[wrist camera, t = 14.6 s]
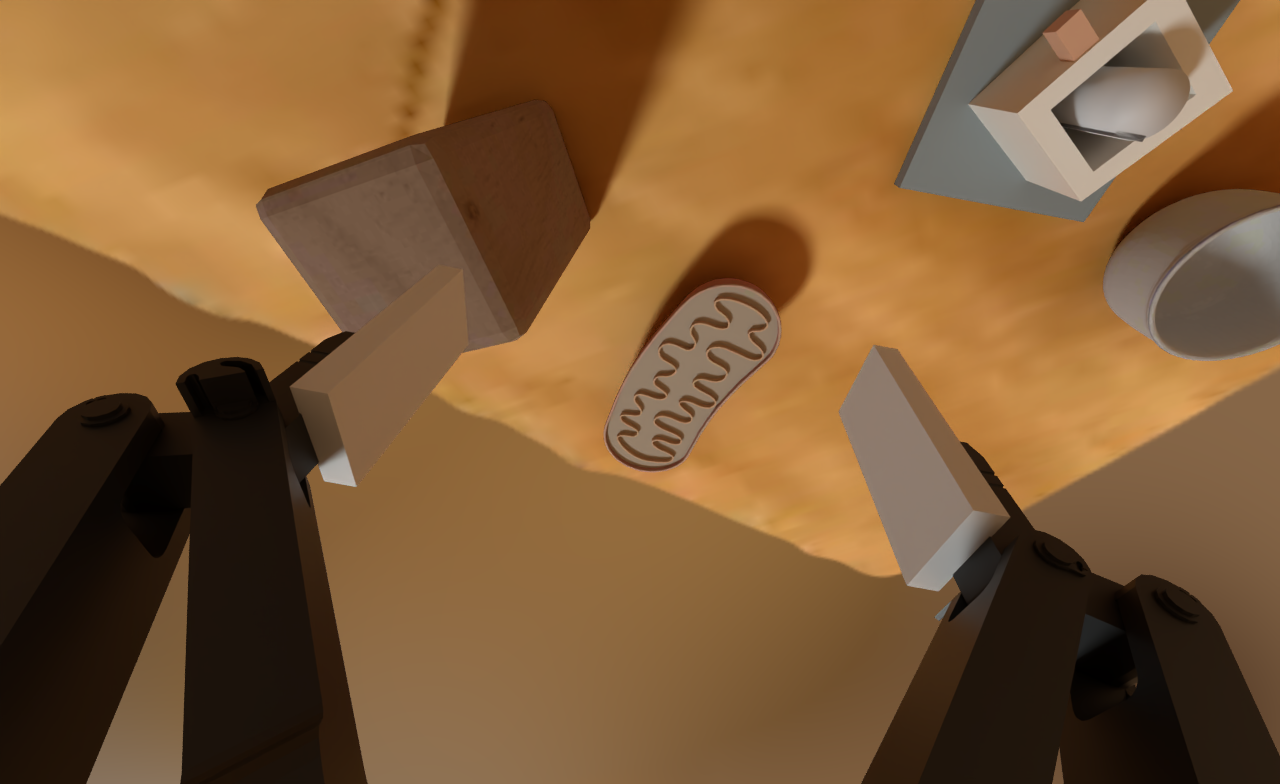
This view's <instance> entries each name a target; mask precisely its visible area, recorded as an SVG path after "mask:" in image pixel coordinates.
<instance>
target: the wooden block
mask: <svg viewBox="0 0 1280 784" xmlns="http://www.w3.org/2000/svg"><path fill="white" fill-rule="evenodd" d="M256 207H257V210H258V213H259V216H260V219H261V221H262V222H263V223H264V225H265V226H266V227H267V229H268V230H269V232H270V233H271V234H272V236H273V237H274V238H275V240H276V241H277V243H278V244H279V245H280V247H281V248H282V249H283V251H284V252H285V254H286V255H287V256H288V258H289V259H290V260H291V262H292V263H293V265H294V266H295V267H296V269H297V270H298V271H299V273H300V274H301V276H302V277H303V278H304V280H305V281H306V282H307V284H308V285H309V287H310V288H311V289H312V291H313V292H314V293H315V295H316V296H317V298H318V299H319V300H320V302H321V303H322V305H323V306H324V307H325V309H326V310H327V311H328V313H329V314H330V316H331V317H332V318H333V320H334V321H335V322H336V324H337V325H338V327H339V328H340V329H341V331H342V332H345V331H349V332H354V333H356V332H357V331H358V330H360V329H361V328H362V327H363V326H364V325H366V324H367V323H368V322H369V321H371V320H372V319H373V318H374V317H375V316H377V315H378V314H379V313H380V312H382V311H383V310H384V309H385V308H386V307H388V306H389V305H390V304H391V303H393V302H394V301H395V300H396V299H397V298H399V297H400V296H401V295H402V294H404V293H405V292H406V291H407V290H408V289H410V288H411V287H412V286H413V285H415V284H416V283H417V282H418V281H419V280H421V279H422V278H423V277H424V276H426V275H427V274H428V273H429V272H430V271H432V270H433V269H434V268H435V267H437V266H438V265H442V266H447V267H453V268H458V269H463V280H464V293H465V305H466V318H467V331H468V343H469V345H468V346H467V347H466V348H465V350H464V351H463V352H462V353H464V352H468V351H472V350H477V349H481V348H485V347H490V346H494V345H499V344H503V343H507V342H511V341H515V340H517V339H519V338H520V337H521V336H522V335H524V334H525V333H526V332H527V331H528V329H529V327H530V326H531V324H532V322H533V321H534V319H535V318H536V316H537V314H538V313H539V311H540V309H541V308H542V306H543V304H544V303H545V301H546V300H547V298H548V296H549V295H550V293H551V291H552V290H553V288H554V286H555V285H556V283H557V282H558V280H559V278H560V277H561V275H562V273H563V272H564V270H565V269H566V267H567V265H568V264H569V262H570V260H571V259H572V257H573V255H574V254H575V252H576V251H577V249H578V247H579V246H580V244H581V242H582V241H583V239H584V237H585V236H586V234H587V233H588V231H589V229H590V217H589V214H588V211H587V208H586V205H585V202H584V199H583V196H582V194H581V191H580V188H579V185H578V182H577V179H576V176H575V173H574V170H573V167H572V164H571V162H570V159H569V156H568V153H567V150H566V147H565V144H564V141H563V138H562V135H561V132H560V130H559V127H558V124H557V121H556V118H555V115H554V112H553V110H552V109H551V107H550V106H549V105H548V104H547V102H546V101H540V100H533V101H529V102H526V103H523V104H519V105H516V106H512V107H509V108H505V109H502V110H498V111H495V112H491V113H488V114H485V115H481V116H478V117H474V118H471V119H467V120H464V121H460V122H457V123H454V124H450V125H447V126H443V127H440V128H436V129H433V130H429V131H426V132H423V133H419V134H416V135H413V136H410V137H407V138H405V139H402V140H399V141H396V142H394V143H391V144H388V145H386V146H383V147H380V148H378V149H375V150H372V151H369V152H367V153H364V154H361V155H359V156H356V157H353V158H351V159H348V160H345V161H342V162H340V163H337V164H334V165H332V166H329V167H326V168H324V169H321V170H318V171H315V172H313V173H310V174H307V175H305V176H302V177H299V178H297V179H294V180H291V181H288V182H286V183H283V184H280V185H278V186H275V187H272V188H270V189H268V190H267V191H266V193H265V194H264V196H263V197H262V199H261V200H260V201H259V202H258V203H257V204H256Z"/></svg>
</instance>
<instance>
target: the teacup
mask: <svg viewBox="0 0 1280 784" xmlns="http://www.w3.org/2000/svg"><path fill="white" fill-rule="evenodd" d="M1103 290H1104V295H1105V298H1106V300H1107V302H1108V304H1109V306H1110V307H1111V309H1112V310H1113V311H1114V313H1115V314H1116V315H1117V316H1119V317H1120V318H1121V319H1122V320H1123V321H1125V322H1126V323H1127V324H1129V325H1130V326H1131V327H1133V328H1134V329H1136V330H1137V331H1139V332H1140V333H1142V334H1143V335H1145V336H1146V337H1148V338H1150V339H1151V340H1153V341H1154V342H1155V343H1156V344H1157V345H1158V346H1159V347H1160V348H1161V349H1163V350H1164V351H1166V352H1168V353H1169V354H1172V355H1175V356H1177V357H1181V358H1185V359H1191V360H1200V361H1217V360H1226V359H1233V358H1237V357H1243V356H1247V355H1251V354H1254V353H1257V352H1260V351H1264V350H1267V349H1269V348H1272V347H1274V346H1277V345H1278V344H1280V194H1279V193H1273V192H1268V191H1260V190H1250V189H1228V190H1218V191H1211V192H1207V193H1202V194H1198V195H1195V196H1191V197H1188V198H1185V199H1183V200H1180V201H1178V202H1176V203H1173V204H1171V205H1169V206H1167V207H1165V208H1163V209H1161V210H1159V211H1158V212H1156V213H1154V214H1153V215H1151V216H1150V217H1148V218H1147V219H1146V220H1144V221H1143V222H1142V223H1140V224H1139V225H1138V226H1137V227H1135V228H1134V229H1133V230H1132V231H1131V232H1130V233H1129V234H1128V235H1127V236H1126V237H1125V238H1124V239H1123V240H1122V241H1121V243H1120V244H1119V245H1118V247H1117V248H1116V249H1115V251H1114V252H1113V254H1112V256H1111V257H1110V259H1109V262H1108V264H1107V266H1106V270H1105V273H1104V278H1103Z"/></svg>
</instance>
